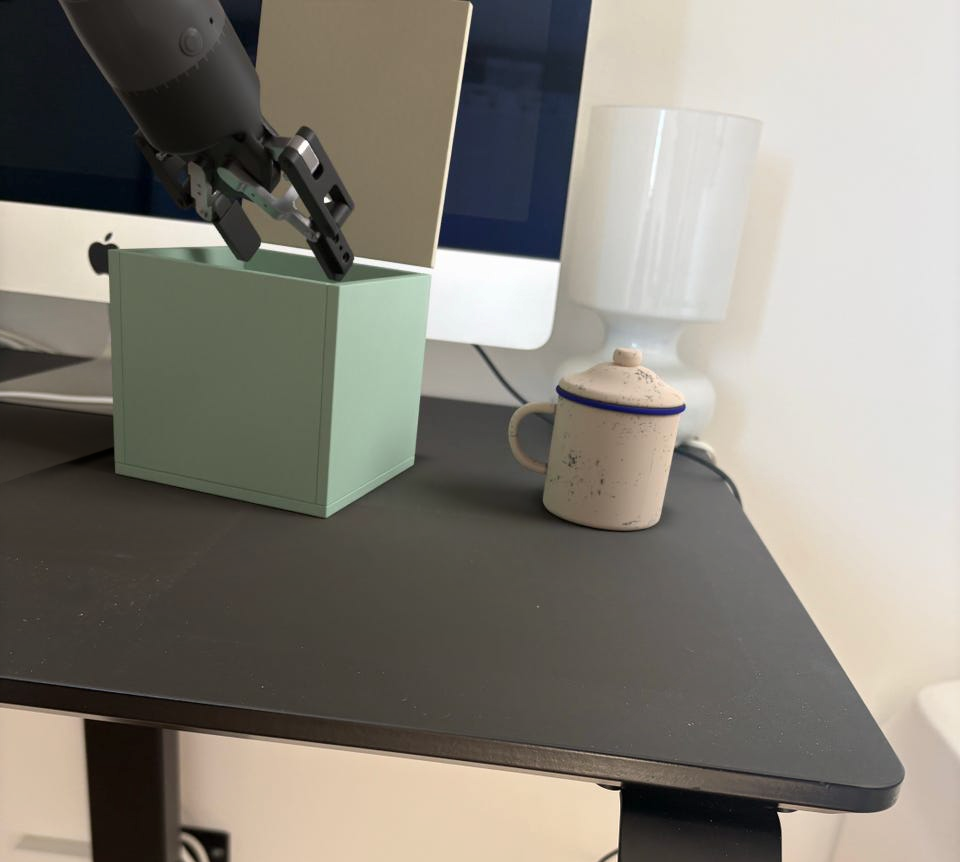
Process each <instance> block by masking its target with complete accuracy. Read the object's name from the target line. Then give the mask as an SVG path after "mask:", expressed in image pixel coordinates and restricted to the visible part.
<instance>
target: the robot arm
mask: <svg viewBox="0 0 960 862" xmlns="http://www.w3.org/2000/svg"><path fill="white" fill-rule="evenodd" d="M58 2H59V4H60V5H61V7H62V9H63V11H64V13H65V15H66V17H67V19H68V21H69V23H70V25H71V27H72V29H73V31H74V32H75V35H76V36H77V37H78V39H79V41H80V43H81V44H82V46H83V47H84V48H85V50H86V52H87V53H88V55H89V56H90V58H91V59H92V61H93V62H94V63H95V65H96V66H97V68H98V69H99V71H100V72H101V74H102V75H103V76H104V79H105V80H106V81H107V82H108V84H109V86H110V88H111V89H112V90H113V92H114V93H115V94H116V96H117V97H118V99H119V100H120V102H121V103H122V105H123V106H124V107H125V109H126V111H127V112H128V114H129V115H130V116H131V118H132V120H133V121H134V122H135V124H136V126H137V127H138V129H137V130H136V131H135V133H134V134H133V135H132V138H133V141H134V143H135V145H137V148H139V150H140V152H141V153H142V155H143V156H144V158H145V160H146V161H147V162H148V164H149V166H150V167H151V168H152V170H153V172H154V174H155V175H156V176H157V177H158V180H159V181H160V182H161V184H162V186H163V188H164V189H165V191H166V192H167V193H168V195H169V196H170V198H171V199H172V201H173V202H174V204H175V205H176V206H177V207H178V208H179V209H181V210H183V211H188V210H189V209H190V207H193V208H194V209H195V212H196V213H197V214H198V215H199V217H200V218H202V219H203V220H204V221H206V222H211V223H212V225H213V227H215V229H216V231H217V232H218V233H219V235H220V237H221V238H222V239H223V241H224V243H225V245H226V246H228V247H229V248H230V250H231V251H232V253H233V254H234V256H235V257H236V259H237V260H240V261H244V262H248V261H250V260H251V258H252V257H253V255H254V254H255V253H256V251H257V250H258V249H259V248H260V247H261V245H262V243H261V238H260V236H259V234H258V233H257V231H256V230H255V228H254V226H253V225H252V223H251V221H250V220H249V218H248V217H247V215H246V213H245V212H244V210H243V209H242V204H240V202H239V201H238V199H242V198H243V199H246V200H248V201H251V202H254V203H256V204H257V205H258V206H259V207H260V208H262V209H263V210H264V211H265V212H266V213H267V214H268V215H270V216H271V217H272V218H273V219H275V220H277V221H280V220H286V221H287V222H289V223H290V224H291V225H292V226H293V227H294V228H295V229H297V230H298V231H299V232H300V233H301V234H302V235H303V236H305V237H306V238H307V239H306V241H307V243H308V245H309V247H310V248H311V250H310V251H311V253H312V254H313V255H314V257H316V259H317V260H318V262H319V264H320V266H321V267H322V269H323V271H324V273H325V274H326V276H327V278H328V279H329V280H333V281H337V282H340V281H341V280H342V279H343V278H344V276H345V275H346V273H347V272H348V271H349V269H350V268H351V266H352V264H353V263H354V261H355V257H354V253H353V252H352V250H351V248H350V246H349V244H348V243H347V240H346V238H345V237H344V235H343V233H342V231H341V227H342V226H343V224H344V223H345V221H346V220H347V219H348V217H349V216H350V214H351V213H352V212H353V210H354V209H355V204H354V202H353V200H352V199H351V197H350V195H349V193H348V191H347V190H346V188H345V186H344V184H343V182H342V181H341V179H340V177H339V175H338V173H337V172H336V170H335V168H334V166H333V164H332V163H331V161H330V159H329V157H328V155H327V154H326V152H325V150H324V148H323V146H322V145H321V143H320V141H319V139H318V137H317V136H316V134H315V133H314V131H313V130H311V129H310V128H309V127H306V126H301V127H300V129H299V130H298V131H297V133H296V134H295V135H294V137H284V136H279V134H278V133H277V132H276V131H275V129H274V128H273V127H272V126H271V125H270V124H269V123H268V122H267V121H266V119H265V118H264V117H263V115H262V114H261V110H260V80H259V76H258V74H257V72H256V70H255V69H256V67H255V66H254V64H253V62H252V60H251V59H250V57H249V55H248V53H247V52H246V51H247V50H246V49H245V47H244V46H243V44H242V42H241V40H240V38H239V36H238V34H237V33H236V31H235V29H234V27H233V25H232V23H231V20H230V19H229V17H228V16H227V13H226V12H225V10H224V8H223V6H222V4H221V2H220V0H58ZM182 170H183V172H184V174H185V176H186V177H187V178H186V179H185V181H183V183H182V184H181V182H180V181H179V178H178V175H179V173H180V172H181V171H182ZM281 170H282V171H283V172H284V174H283V178H284V179H285V180H286V181H290V182H291V186H290V187H289V189H288V190H287V192H286V193H285V194H284V196H283V197H282V198H275V197H273V196H272V195H271V193H272V192H273V190H274V189H275V188H276V186H277V185H278V183H279V182H280V179H281ZM327 194H329V196H330V197H331V199H332V201H330V200H329V199H328V198H327V197H325V196H326V195H327ZM298 197H300V199H301V200H302V202H303V203H304V205H305V207H306V208H307V210H308V212H309V213H310V217H309V218H307V217H306V216H305V215H304V214H302V213H301V212H300V211H299V210H298V209H297V208H296V207H295V201H296V200H297V198H298Z"/></svg>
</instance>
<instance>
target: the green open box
mask: <svg viewBox="0 0 960 862" xmlns="http://www.w3.org/2000/svg"><path fill="white" fill-rule="evenodd" d="M107 257H108V258H107V259H108V260H107V261H108V289H109V294H108V295H109V323H110V324H109V325H110V352H111V353H110V355H111V358H110V359H111V385H112V386H111V387H112V417H113V418H112V419H113V421H112V422H113V448H114V449H113V451H114V472H115V474H117V475H121V476H125V477H130V478H135V479H139V480H145V481H148V482H153V483H158V484H163V485H168V486H173V487H177V488H182V489H187V490H192V491H195V492H201V493H204V494H205V493H206V494H211V495H215V496H220V497H224V498H229V499H233V500H237V501H242V502H246V503H247V502H248V503H253V504H258V505H261V506H267V507H272V508H275V509H281V510H284V511H285V510H286V511H291V512H294V513H299V514H303V515H309V516H313V517H314V516H315V517H318V518H322V519H327V518H329V517H330V516H332V515H334V514H335V513H337V512H339V511H340V510H342V509H344V508H345V507H347V506H349V505H350V504H352V503H354V502H355V501H357V500H359V499H360V498H362V497H364V496H365V495H366V494H368V493H370V492H371V491H373V490H375V489H377V488H378V487H380V486H381V485H383V484H385V483H386V482H388V481H389V480H391V479H393V478H394V477H396V476H398V475H399V474H401V473H402V472H404V471H407V470H408V469H409V468H411V467H413V466H414V465H415V454H416V447H417V446H416V445H417V435H418V434H417V433H418V427H419V426H418V424H419V416H420V415H419V413H420V405H421V403H420V402H421V395H422V394H421V392H422V383H423V373H424V372H423V370H424V361H425V351H426V350H425V349H426V341H427V340H426V339H427V329H428V318H429V308H430V299H431V297H430V296H431V287H432V274H430V273H425V272H422V273H421V272H417V271H410V270H406V269H405V270H403V269H398V268H392V267H391V268H390V267H386V266H385V267H384V266H378V265H372V264H371V265H370V264H366V263H358V262H353V264H352V266H351V268H350V269H349V271H348V272H347V273H346V275H345V276H344V278H343V279H342V280H341V281H340V282H337V281H333V280H329V279H328V278H327V276H326V274H325V273H324V271H323V269H322V267H321V266H320V264H319V262H318V260H317V259H316V257H315V256H312V255H307V254H299V253H293V252H285V251H280V250H279V251H278V250H273V249H266V248H260V247H259V249H258V250H257V251H256V253H255V254H254V255H253V257H252V258H251V260H250V261H248V262H244V261H240V260H237V259H236V257H235V256H234V254H233V253H232V251H231V250H230V248H229V247H228V246H227V245H213V246H212V245H209V246H208V245H207V246H180V247H175V246H174V247H143V248H142V247H141V248H139V247H137V248H135V247H134V248H109V249H108V250H107Z"/></svg>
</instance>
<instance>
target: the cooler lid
mask: <svg viewBox="0 0 960 862" xmlns="http://www.w3.org/2000/svg"><path fill="white" fill-rule="evenodd" d="M473 8H474V6H473V4H472V3H471V1H470V0H468V1H467V0H262V2H261V10H260V20H259V30H258V40H257V42H258V43H257V50H256V61H255V70H256V72H257V74H258V76H259V80H260V110H261V114H262V115H263V117H264V118H265V119H266V121H267V122H268V123H269V124H270V125H271V126H272V127H273V128H274V129H275V131H276V132H277V133H278V134H279V136H284V137H294V135H295V134H296V133H297V131H298V130H299V129H300V127H301V126H306V127H309V128H310V129H311V130H313V131H314V133H315V134H316V136H317V137H318V139H319V141H320V143H321V145H322V146H323V148H324V150H325V152H326V154H327V155H328V157H329V159H330V161H331V163H332V164H333V166H334V168H335V170H336V172H337V173H338V175H339V177H340V179H341V181H342V182H343V184H344V186H345V188H346V190H347V191H348V193H349V195H350V197H351V199H352V200H353V202H354V204H355V209H354V210H353V212H352V213H351V214H350V216H349V217H348V219H347V220H346V221H345V223H344V224H343V226H342V227H341V231H342V233H343V235H344V237H345V238H346V240H347V243H348V244H349V246H350V248H351V250H352V252H353V253H354V258H361V259H366V260H374V261H379V262H380V261H381V262H386V263H394V264H400V265H406V266H413V267H418V268H419V267H420V268H427V269H435V265H436V260H437V259H436V258H437V251H438V245H439V237H440V231H441V225H442V224H441V223H442V217H443V211H444V205H445V197H446V190H447V184H448V178H449V171H450V164H451V163H450V162H451V156H452V150H453V144H454V143H453V142H454V137H455V129H456V122H457V116H458V110H459V103H460V96H461V89H462V81H463V76H464V68H465V62H466V55H467V49H468V41H469V35H470V28H471V21H472V15H473ZM283 174H284V172H283V171H282V170H281V179H280V182H279V183H278V185H277V186H276V188H275V189H274V190H273V192H272V193H271V195H272V196H273V197H275V198H282V197H283V196H284V194H285V193H286V192H287V190H288V189H289V187H290V186H291V182H290V181H286V180H285V179H284V178H283ZM325 197H327V198H328V199H329V200H330V201H332V199H331V197H330V196H329V194H327V195H326V196H325ZM241 199H242V200H241V207H242V209H243V210H244V212H245V213H246V215H247V217H248V218H249V220H250V221H251V223H252V225H253V226H254V228H255V230H256V231H257V233H258V234H259V236H260V238H261V244H267V245H273V246H281V247H287V248H294V249H301V250H306V251H312V250H311V248H310V247H309V245H308V243H307V241H306V239H307V238H306V237H305V236H303V235H302V234H301V233H300V232H299V231H298V230H297V229H295V228H294V227H293V226H292V225H291V224H290V223H289V222H287V221H286V220H280V221H277V220H275V219H273V218H272V217H271V216H270V215H268V214H267V213H266V212H265V211H264V210H263V209H262V208H260V207H259V206H258V205H257V204H256V203H254V202H251V201H248V200H246V199H243V198H241ZM295 207H296V208H297V209H298V210H299V211H300V212H301V213H302V214H304V215H305V216H306V217H307V218H309V217H310V213H309V212H308V210H307V208H306V207H305V205H304V203H303V202H302V200H301V199H300V197H298V198H297V200H296V201H295Z"/></svg>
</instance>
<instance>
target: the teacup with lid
mask: <svg viewBox="0 0 960 862" xmlns="http://www.w3.org/2000/svg"><path fill="white" fill-rule="evenodd" d="M642 361H643V353H642V352H641V350H638V349H635V348H629V347H628V348H627V347H617V348H616V349H614V351H613V354H612V361H605V362H600V363H598V364H595V365H593V366H591V367H589V368H587V369H585V370H582V371H580V372H579V371H578V372H572V373H568V374H565V375H563V376H562V377H561V378H560V379H559V381H558V384H557V385H556V386H555V392H556V394H557V402H556V403H554V402H547V401H538V400H537V401H531V402H527V403H525V404H523V405H521V406H520V407H519V408H517V409H516V410H515V411H514V413H513V414H512V416H511V417H510V421H509V425H508V431H507V433H508V442H509V447H510V449H511V452H512V454H513V456H514V457H515V459H516V460H517V462H518V463H519V464H520V465H521V466H522V467H524V468H525V469H527V470H529V471H531V472H534V473H538V474H541V475H545V481H544V487H543V494H542V495H543V496H542V502H543V505H544V508H545V509H546V510H548V511H549V512H550V513H551V514H553V515H554V516H556V517H559V518H560V519H562V520H565V521H567V522H570V523H574V524H577V525H581V526H585V527H589V528H594V529H601V530H607V531H626V532H627V531H640V530H644V529H649V528H650V527H654V526H655V525H656V524H658V523H659V521H660V519H661V515H662V510H663V505H664V500H665V495H666V490H667V485H668V480H669V475H670V470H671V467H672V460H673V455H674V451H675V447H676V441H677V436H678V431H679V426H680V421H681V415H682V413H683V412H685V411H686V408H687V405H686V403H685V402H686V398H685V396H684V394H683V393H682V392H681V391H680V390H679V389H677V388H675V387H672V386H670V385H668V384H667V383H665V382H664V381H663V380H662V379H661V378H660V377H659V376H658V375H657V374H656V373H655V372H654V371H653V370H652V369H650V368H648V367H645V366H642V365H641V364H642V363H643V362H642ZM535 413H541V414H547V415H553V416H554V422H553V428H552V435H551V441H550V448H549V455H548V461H547V462H545V461H544V462H543V461H539V460H537V459H534V458H532V457H531V456H529V455H528V454H527V453H526V452H525V450H524V449H523V447H522V444H521V442H520V441H521V440H520V437H519V425H520V422H521V420H523V419H524V418H525V417H526V416H529V415H530V414H535Z"/></svg>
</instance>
